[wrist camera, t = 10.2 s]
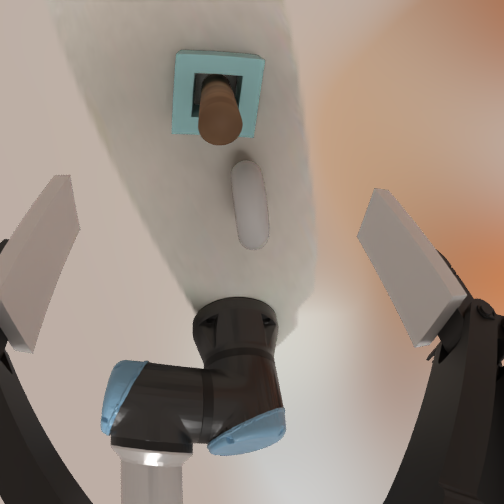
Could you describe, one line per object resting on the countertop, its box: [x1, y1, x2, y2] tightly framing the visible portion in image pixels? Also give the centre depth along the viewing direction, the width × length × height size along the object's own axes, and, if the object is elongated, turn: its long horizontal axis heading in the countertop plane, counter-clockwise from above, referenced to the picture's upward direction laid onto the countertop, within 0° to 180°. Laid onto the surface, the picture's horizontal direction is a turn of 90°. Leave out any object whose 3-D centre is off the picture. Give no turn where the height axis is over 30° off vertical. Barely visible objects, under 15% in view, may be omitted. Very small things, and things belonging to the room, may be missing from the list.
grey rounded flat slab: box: [231, 160, 269, 250], centre depth 36 cm, size 10×4×10 cm, turn 4°
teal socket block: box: [172, 50, 265, 138], centre depth 29 cm, size 8×8×5 cm
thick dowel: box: [198, 74, 243, 145], centre depth 26 cm, size 3×3×14 cm
